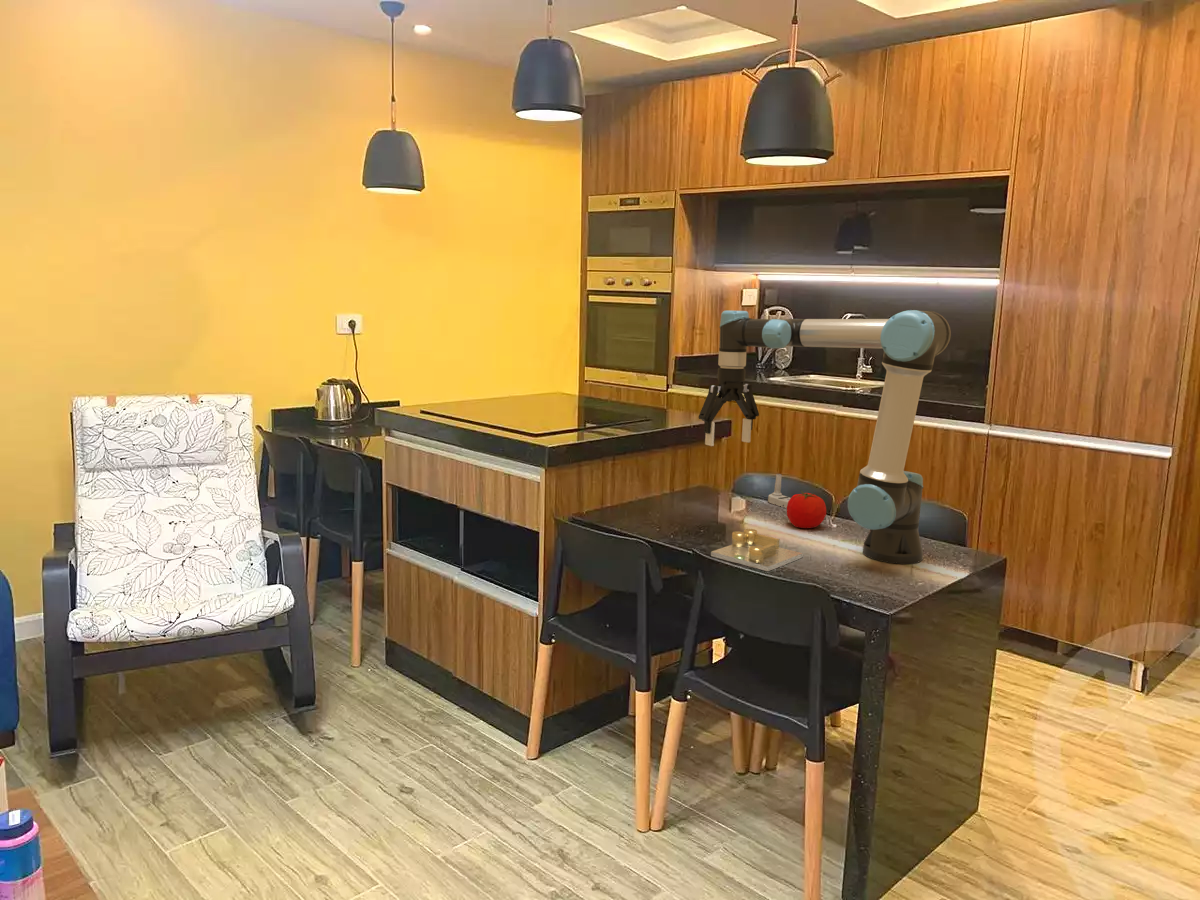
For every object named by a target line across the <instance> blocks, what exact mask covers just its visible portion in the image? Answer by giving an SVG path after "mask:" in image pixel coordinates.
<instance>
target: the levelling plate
mask: <svg viewBox="0 0 1200 900" xmlns="http://www.w3.org/2000/svg"><path fill="white" fill-rule="evenodd" d="M750 546H761V545H756V544H746V533H745V532H744V531H737V530H736V531H732V533H731V544H730V545H726V546H724V547H720V548H718V549H714V550H712V551H710V556H711V557H713V558H717V559H721V560H724V561H728V562H730V563H731V562H732V563H736V564H740V565H742V566H746V567H747V566H748V567H750V568H754V569H758V570H762V571H765V572H770V571H773V570H775V569H778V568H780V567H783V566H785V565H787V564H790V563H792V562H795V561H797V560H801V559H803V556H804V554H803V552H798V551H794V550H791V549H786V548H783V547H779V549H776V554H775V555H772V556H769V557H767V558H764V559H763V562H761V563H755V562H751V561H749V547H750ZM761 547H763V546H761Z"/></svg>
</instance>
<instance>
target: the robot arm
mask: <svg viewBox="0 0 1200 900" xmlns="http://www.w3.org/2000/svg"><path fill="white" fill-rule="evenodd" d="M720 314H721V315H720V323H719V324H720V325H719V347H718V361H717V362H718V364H717V365H718V366H719V367H718V368H717V381H718V385H714V384H711V385H709V387H708V393H707V396H706V397H705V400H704V401H703V402H704V403H703V405H702V408H701V409H700V412H699V415H698V419H699V420H701V421H703V422H704V427H703V433H704V434H705V439H704V445H706V446H710V447H714V445H715V443H714V442H715V421H713V420H714V419H715V418H716V416H717V414H718V413H719V412H720V411H721V409H722V407H723V406H724V404H726V403H727V402H736V404H737V405H738V407H739V409H740V411H741V413H742V414H743V416H744V417H745V418H742V427H741V428H742V429H741V430H742V432H741V442H743V443H748V444H749V443H751V435H752V430H753V426H754V425H753V423H754V421H753V420H756V419H757V417H759V416H760V413H759V408H758V406H757V404H756V403H757V402H756V401H755V396H754V394H753V386H752V384H750V383H744V382H745V381H746V368H745V367H746V366H747V351H748V349H747V348H749V347H754V348H755V347H756V348H757V347H758V348H769V349H770V350H771V349H784V348H786V347H799V348H803V347H806V348H807V347H809V348H846V349H847V348H849V349H850V348H851V349H853V348H855V349H882V350H883V356H882V361H881V364H882V366H883V368H884V369H885V370H886V373H885V378H884V384H883V388H882V392H881V398H880V403H879V407H878V413H877V418H876V424H875V426H874V433H873V439H872V441H871V442H872V443H871V449H870V453H869V458H868V462H867V465H866V466H864V467H862V468H861V469H860V471H859V475H858V479H857V485H856V487H854V488H853V489H852V491H851V492H850V493H849V494H848V495H849V496H848V497H847V510H848V513H849V515H850V516H851V518H852V520H853V521H854V522H855V523H856V524H857V525H858V526H860V527H862V528H864V529H866V530H869V531H868V534H867V535H866V536H865V537H866V538H865V540H864V541H863V547H862V553H863V555H864V556H866V557H868V558H869V559H872V560H876V561H878V562H879V561H880V562H884V563H891V564H899V565H901V564H902V565H903V564H905V565H906V564H908V565H909V564H917V563H920V562H921V561H923V556H924V555H923V554H924V550H923V545H922V541H921V537H920V533H919V524H920V523H919V522H920V516H921V515H920V514H921V506H922V496H923V489H924V477H923V475H922V474H920V473H916V472H912V471H907V470H905V466H906V462H907V461H906V460H907V457H908V451H909V447H910V441H911V437H912V434H913V427H914V424H915V423H914V422H915V420H916V419H915V418H916V415H917V409H918V404H919V401H920V396H921V391H922V385H923V381H924V377H925V376H927V375H928V374H929V373H931V372H932V370H933V367H934V363H935V357H936V356H938V355H939V354H941V353H942V352H944V350H946V348H947V347H948V344H949V343H950V340H951V336H952V334H951V333H952V332H951V326H950V325H949V322H948V320H947V319H946V318H945V317H944V316H943V315H941V314H940V313H938V312H935V311H933V310H916V309H913V310H912V309H909V310H904V311H901V312H898V313H896V314H894V315H892V316H890V318H805V319H804V318H784V319H783V318H776V319H775V318H771V319H770V318H750V317H749V316H750V315H749V312H748V311H747V310H731V309H730V310H723V311H722V312H721V313H720Z"/></svg>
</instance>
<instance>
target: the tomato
mask: <svg viewBox="0 0 1200 900" xmlns="http://www.w3.org/2000/svg"><path fill="white" fill-rule="evenodd" d="M800 492H801V493H795V494H794V495H792V496H791V497H790V498H791V499H790V500H789V501H788V504H787V509H786V516H787V519H788V520H789V522H790V523H791V524H792V525H793V526H794V527H796V528H801V529H812V528H813V529H814V528H816V527H818V526H819V525H821V524H823V523H822V522H823V521H824V520H825V518H826V517H827V506H826V503H825V500H824V499H823V498H821V497H820V496H818V495H816V493H814V492H813V493H809V492H804V491H802V490H800Z"/></svg>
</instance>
